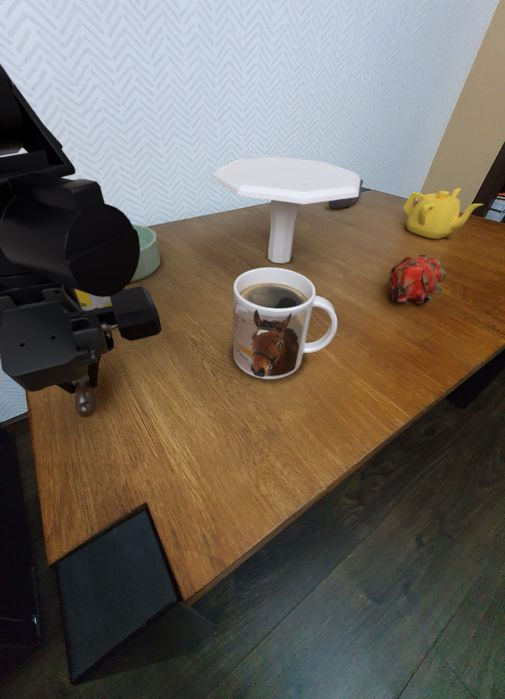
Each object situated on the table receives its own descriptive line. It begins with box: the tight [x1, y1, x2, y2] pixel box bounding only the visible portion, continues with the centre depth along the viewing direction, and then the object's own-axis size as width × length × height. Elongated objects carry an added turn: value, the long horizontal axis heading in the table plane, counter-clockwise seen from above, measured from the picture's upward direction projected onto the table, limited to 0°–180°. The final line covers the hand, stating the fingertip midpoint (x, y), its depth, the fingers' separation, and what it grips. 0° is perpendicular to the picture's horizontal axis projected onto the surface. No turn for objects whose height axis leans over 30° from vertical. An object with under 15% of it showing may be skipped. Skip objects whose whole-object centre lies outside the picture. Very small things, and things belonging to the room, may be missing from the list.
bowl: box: [130, 223, 162, 283], centre depth 60 cm, size 15×15×6 cm
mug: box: [232, 266, 338, 380], centre depth 40 cm, size 10×12×11 cm
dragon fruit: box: [387, 253, 447, 304], centre depth 54 cm, size 8×8×12 cm
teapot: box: [402, 187, 484, 239], centre depth 79 cm, size 14×13×10 cm
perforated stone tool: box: [328, 178, 364, 210], centre depth 93 cm, size 15×5×7 cm, turn 132°
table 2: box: [210, 156, 362, 264], centre depth 61 cm, size 28×28×17 cm
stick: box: [73, 372, 98, 418], centre depth 35 cm, size 2×8×2 cm, turn 26°
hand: (84, 388), depth 35 cm, fingers closed on stick, 2 cm apart
